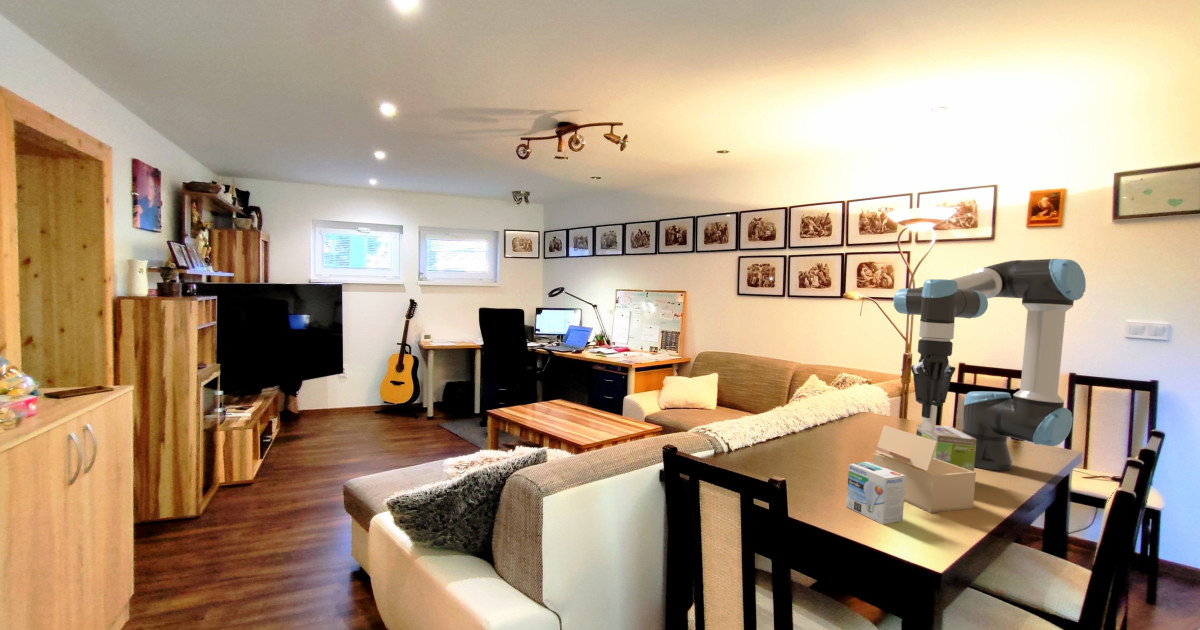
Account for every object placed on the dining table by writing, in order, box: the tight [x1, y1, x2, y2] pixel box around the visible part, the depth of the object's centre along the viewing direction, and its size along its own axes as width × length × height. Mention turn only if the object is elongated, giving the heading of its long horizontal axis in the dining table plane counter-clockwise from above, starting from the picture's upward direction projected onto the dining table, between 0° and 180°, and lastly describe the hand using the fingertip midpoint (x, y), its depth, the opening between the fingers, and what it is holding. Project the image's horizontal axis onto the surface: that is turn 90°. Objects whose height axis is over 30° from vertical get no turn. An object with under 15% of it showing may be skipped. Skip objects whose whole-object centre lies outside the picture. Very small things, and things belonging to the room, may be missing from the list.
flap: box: [872, 425, 938, 471], centre depth 135 cm, size 8×15×8 cm
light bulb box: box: [845, 461, 906, 525], centre depth 126 cm, size 11×7×11 cm, turn 23°
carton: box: [872, 452, 977, 514], centre depth 139 cm, size 14×18×9 cm
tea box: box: [915, 423, 976, 472], centre depth 152 cm, size 15×10×15 cm, turn 168°
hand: (928, 430), depth 139 cm, fingers closed
